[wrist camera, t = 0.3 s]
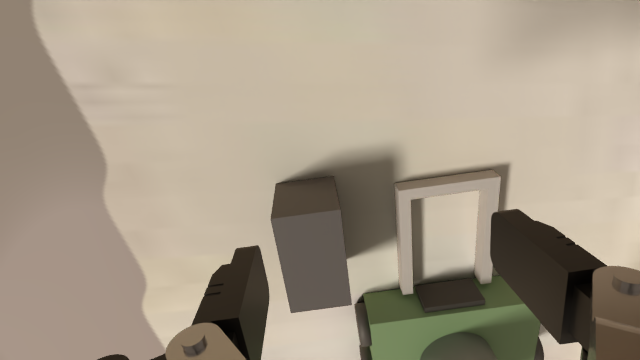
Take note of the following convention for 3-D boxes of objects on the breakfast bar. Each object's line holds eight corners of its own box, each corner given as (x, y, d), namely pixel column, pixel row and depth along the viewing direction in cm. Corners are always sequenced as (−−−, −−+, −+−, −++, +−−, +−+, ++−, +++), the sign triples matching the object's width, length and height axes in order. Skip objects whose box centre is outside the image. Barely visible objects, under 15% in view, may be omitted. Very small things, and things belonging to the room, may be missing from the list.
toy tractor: (340, 190, 31) (359, 272, 21) (546, 162, 31) (662, 231, 21) (361, 362, 40) (381, 475, 30) (519, 341, 40) (591, 448, 30)
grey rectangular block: (275, 183, 31) (270, 219, 25) (333, 175, 31) (340, 209, 25) (292, 266, 35) (291, 312, 29) (343, 259, 35) (351, 304, 29)
